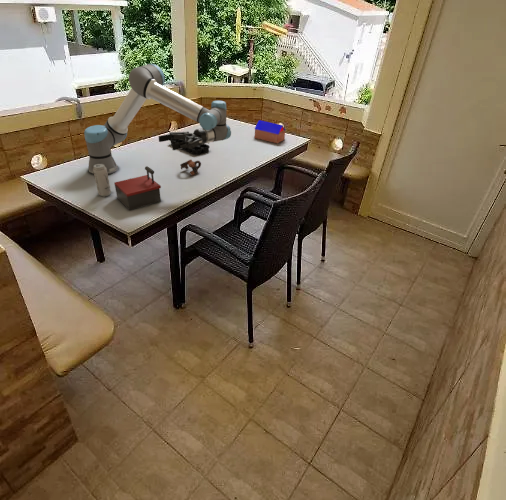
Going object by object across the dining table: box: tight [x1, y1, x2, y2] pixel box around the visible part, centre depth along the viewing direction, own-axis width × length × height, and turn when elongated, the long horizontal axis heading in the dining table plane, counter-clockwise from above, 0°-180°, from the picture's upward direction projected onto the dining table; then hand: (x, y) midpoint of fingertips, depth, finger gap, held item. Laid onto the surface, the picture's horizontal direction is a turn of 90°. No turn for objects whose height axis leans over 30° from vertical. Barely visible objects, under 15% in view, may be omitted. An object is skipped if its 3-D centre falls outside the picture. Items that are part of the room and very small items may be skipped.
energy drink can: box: [93, 164, 112, 197], centre depth 170 cm, size 6×6×15 cm
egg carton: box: [169, 139, 210, 156], centre depth 234 cm, size 18×30×4 cm, turn 60°
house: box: [254, 119, 287, 144], centre depth 256 cm, size 12×20×12 cm, turn 58°
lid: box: [113, 165, 162, 197], centre depth 166 cm, size 17×15×8 cm
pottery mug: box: [180, 159, 202, 176], centre depth 201 cm, size 12×10×8 cm
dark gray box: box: [114, 184, 162, 211], centre depth 170 cm, size 16×15×7 cm
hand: (165, 143), depth 166 cm, fingers open, 13 cm apart
